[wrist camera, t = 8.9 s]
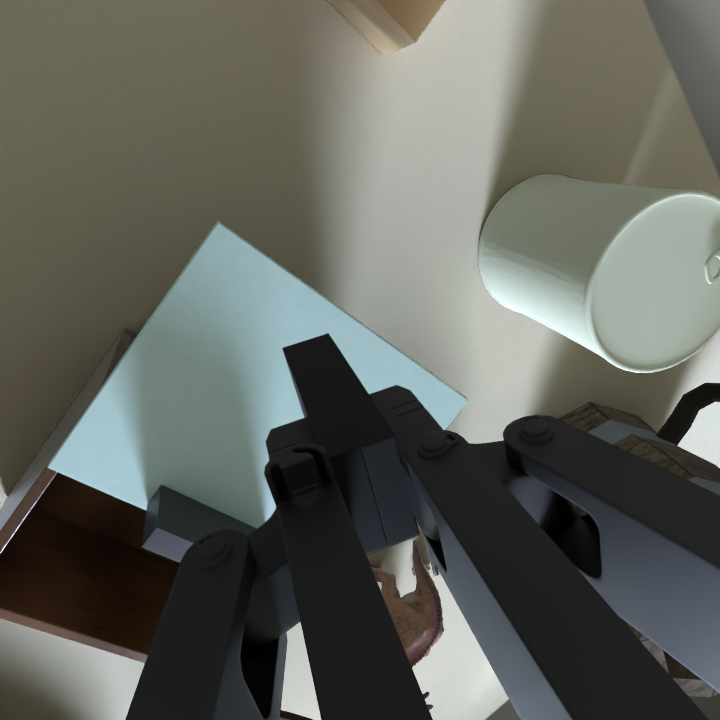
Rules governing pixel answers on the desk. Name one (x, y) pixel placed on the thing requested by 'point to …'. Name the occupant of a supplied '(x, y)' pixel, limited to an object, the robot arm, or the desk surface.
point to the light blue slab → (220, 394)
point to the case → (80, 550)
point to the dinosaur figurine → (414, 610)
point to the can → (609, 266)
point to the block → (389, 20)
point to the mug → (667, 455)
